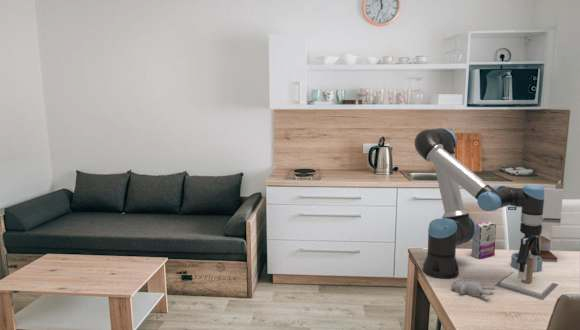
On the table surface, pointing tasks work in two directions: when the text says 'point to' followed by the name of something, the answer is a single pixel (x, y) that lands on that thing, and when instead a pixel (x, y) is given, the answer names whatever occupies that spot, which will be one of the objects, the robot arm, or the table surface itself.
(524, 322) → the table surface
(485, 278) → the table surface
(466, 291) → the bunny figurine
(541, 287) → the cream lid
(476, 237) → the candy bar box
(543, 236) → the display case
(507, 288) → the rubber mat
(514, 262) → the slate bowl
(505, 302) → the table surface
